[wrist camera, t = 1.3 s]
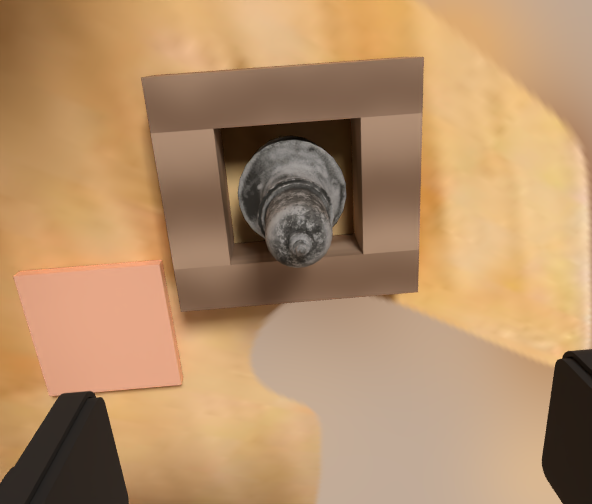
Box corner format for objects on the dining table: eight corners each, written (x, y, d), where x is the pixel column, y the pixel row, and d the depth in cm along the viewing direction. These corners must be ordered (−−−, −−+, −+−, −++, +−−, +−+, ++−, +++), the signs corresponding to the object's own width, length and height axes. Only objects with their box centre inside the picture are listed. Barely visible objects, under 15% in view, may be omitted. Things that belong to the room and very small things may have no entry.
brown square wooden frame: (156, 74, 28) (140, 77, 25) (405, 57, 28) (423, 56, 25) (189, 286, 33) (181, 311, 29) (403, 268, 33) (417, 292, 30)
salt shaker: (357, 182, 31) (408, 255, 19) (286, 244, 32) (295, 345, 21) (293, 108, 29) (308, 142, 18) (221, 176, 30) (192, 248, 19)
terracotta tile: (19, 271, 32) (13, 276, 31) (161, 259, 32) (159, 264, 31) (54, 388, 35) (49, 396, 34) (183, 377, 35) (181, 384, 34)
